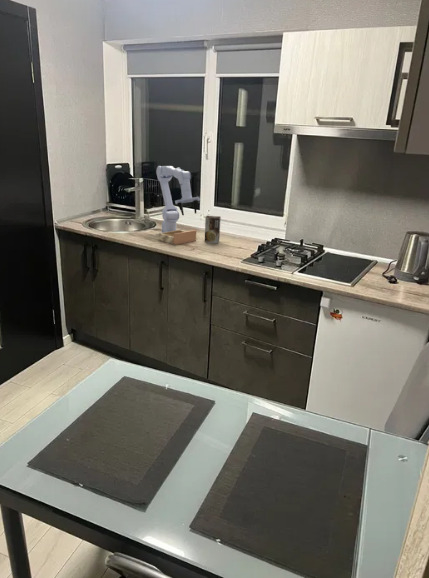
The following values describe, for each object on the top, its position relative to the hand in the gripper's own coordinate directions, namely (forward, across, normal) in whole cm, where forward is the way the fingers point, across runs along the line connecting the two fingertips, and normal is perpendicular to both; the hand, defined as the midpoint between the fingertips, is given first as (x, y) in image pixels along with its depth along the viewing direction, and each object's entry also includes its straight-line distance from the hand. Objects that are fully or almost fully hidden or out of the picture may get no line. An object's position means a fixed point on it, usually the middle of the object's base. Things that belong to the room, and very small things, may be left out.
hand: (189, 214), depth 256 cm
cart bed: (+14, -11, +9) cm, 20 cm away
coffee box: (+18, +10, +13) cm, 24 cm away
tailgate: (+16, -5, +4) cm, 18 cm away
